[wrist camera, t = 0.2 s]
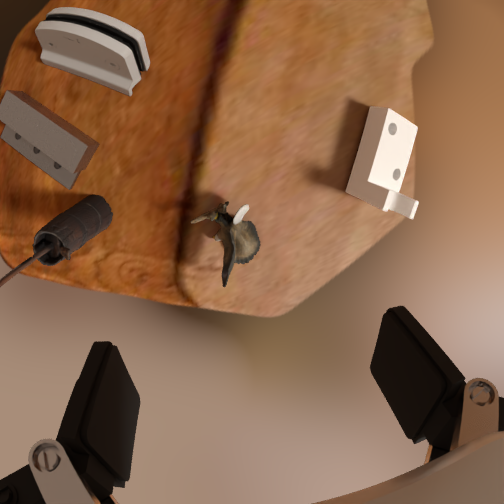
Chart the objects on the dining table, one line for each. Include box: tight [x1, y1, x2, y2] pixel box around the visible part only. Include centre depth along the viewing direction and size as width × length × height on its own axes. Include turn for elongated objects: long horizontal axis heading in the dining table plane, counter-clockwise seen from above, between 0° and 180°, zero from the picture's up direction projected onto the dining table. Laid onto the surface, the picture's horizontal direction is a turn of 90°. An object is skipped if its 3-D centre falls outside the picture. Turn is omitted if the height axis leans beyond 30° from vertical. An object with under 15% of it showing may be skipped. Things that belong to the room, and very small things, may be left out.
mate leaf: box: [0, 90, 99, 190], centre depth 29 cm, size 8×17×4 cm, turn 51°
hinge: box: [35, 7, 150, 96], centre depth 24 cm, size 17×5×10 cm, turn 60°
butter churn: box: [0, 195, 113, 287], centre depth 24 cm, size 9×10×28 cm
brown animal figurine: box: [191, 201, 260, 287], centre depth 38 cm, size 8×8×10 cm
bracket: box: [345, 106, 419, 219], centre depth 35 cm, size 13×7×8 cm, turn 165°
